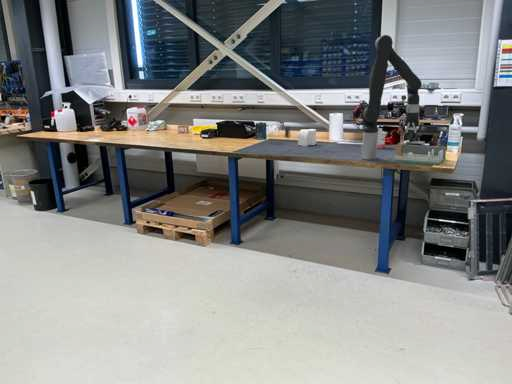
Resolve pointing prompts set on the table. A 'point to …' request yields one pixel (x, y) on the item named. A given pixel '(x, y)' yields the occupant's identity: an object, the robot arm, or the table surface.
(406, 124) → the robot arm
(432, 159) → the translucent green rectangular tray
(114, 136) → the table surface
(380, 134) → the ink cartridge box
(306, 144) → the light grey block
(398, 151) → the striker
